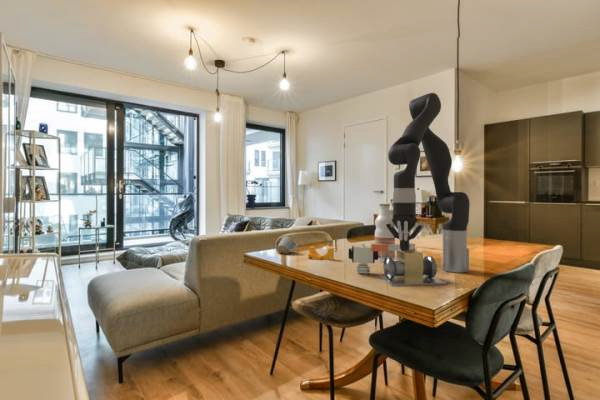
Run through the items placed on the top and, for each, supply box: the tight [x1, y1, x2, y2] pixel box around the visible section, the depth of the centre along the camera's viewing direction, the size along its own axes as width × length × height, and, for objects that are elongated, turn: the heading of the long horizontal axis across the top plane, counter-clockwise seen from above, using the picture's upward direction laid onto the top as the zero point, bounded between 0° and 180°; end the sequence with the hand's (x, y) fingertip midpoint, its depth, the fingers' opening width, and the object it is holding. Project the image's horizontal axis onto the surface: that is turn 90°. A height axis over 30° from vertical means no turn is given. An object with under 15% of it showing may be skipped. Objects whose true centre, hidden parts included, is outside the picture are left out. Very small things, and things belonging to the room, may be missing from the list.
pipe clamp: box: [307, 246, 335, 261], centre depth 156 cm, size 12×4×6 cm, turn 66°
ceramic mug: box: [276, 236, 299, 254], centre depth 170 cm, size 11×8×8 cm
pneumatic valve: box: [348, 243, 378, 275], centre depth 129 cm, size 6×12×12 cm, turn 79°
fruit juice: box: [374, 203, 396, 264], centre depth 153 cm, size 9×9×28 cm
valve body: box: [378, 249, 448, 287], centre depth 117 cm, size 20×13×11 cm, turn 97°
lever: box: [370, 242, 416, 251], centre depth 118 cm, size 4×16×2 cm, turn 92°
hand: (404, 251), depth 110 cm, fingers closed
